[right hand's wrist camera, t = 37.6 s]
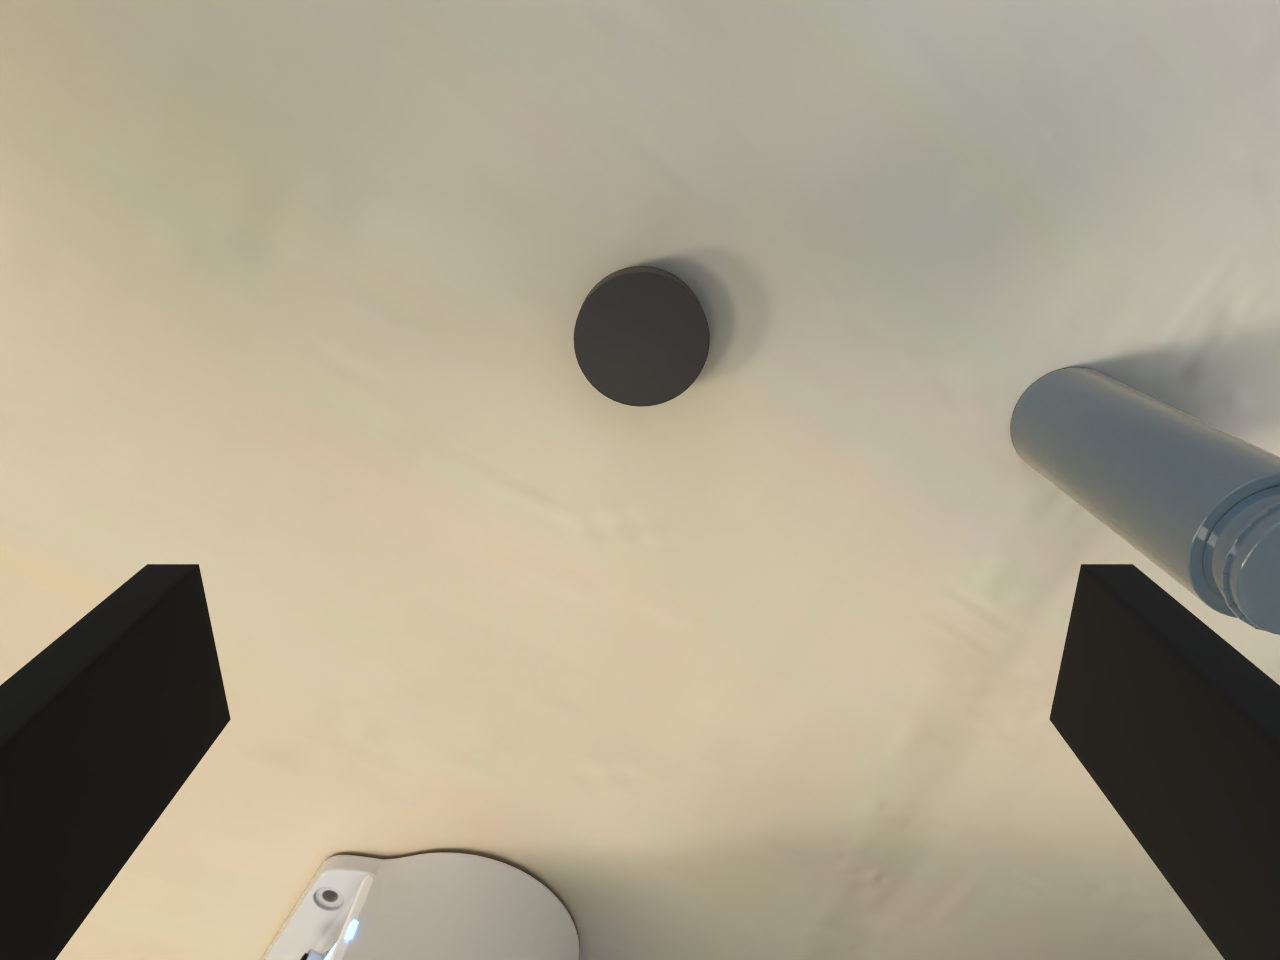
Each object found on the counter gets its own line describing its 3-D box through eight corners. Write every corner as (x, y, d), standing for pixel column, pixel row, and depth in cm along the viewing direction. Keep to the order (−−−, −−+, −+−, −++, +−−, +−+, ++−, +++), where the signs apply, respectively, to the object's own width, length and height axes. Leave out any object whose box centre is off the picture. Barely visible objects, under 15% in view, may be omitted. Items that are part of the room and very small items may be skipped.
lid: (645, 237, 36) (645, 242, 34) (732, 335, 37) (737, 344, 35) (550, 328, 37) (545, 337, 35) (637, 419, 39) (637, 432, 37)
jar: (1109, 472, 40) (1372, 648, 25) (1002, 472, 40) (1205, 648, 25) (1131, 367, 38) (1427, 493, 24) (1019, 366, 38) (1248, 492, 24)
